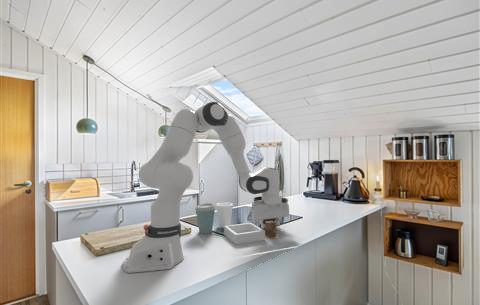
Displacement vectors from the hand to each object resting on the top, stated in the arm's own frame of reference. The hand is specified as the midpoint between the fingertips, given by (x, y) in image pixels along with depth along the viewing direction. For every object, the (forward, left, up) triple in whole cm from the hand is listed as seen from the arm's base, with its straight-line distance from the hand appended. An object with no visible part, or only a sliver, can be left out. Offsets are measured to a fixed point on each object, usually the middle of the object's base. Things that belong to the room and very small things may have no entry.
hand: (270, 227), depth 129 cm
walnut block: (0, 0, -4) cm, 5 cm away
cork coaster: (0, 0, -5) cm, 5 cm away
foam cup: (-15, +26, -5) cm, 30 cm away
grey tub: (-13, +4, -5) cm, 15 cm away
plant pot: (+8, +18, -5) cm, 20 cm away
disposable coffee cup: (-28, +20, -5) cm, 35 cm away
